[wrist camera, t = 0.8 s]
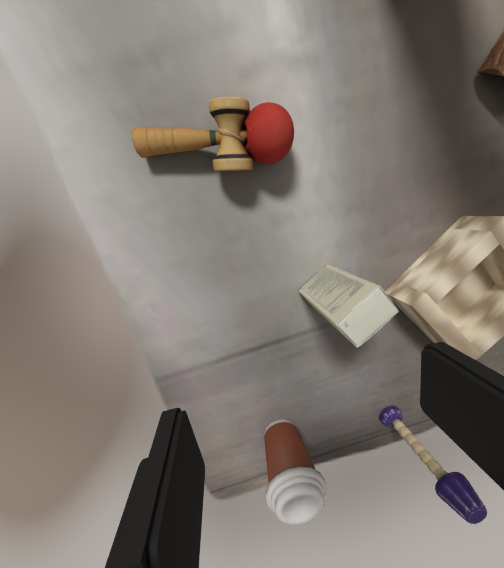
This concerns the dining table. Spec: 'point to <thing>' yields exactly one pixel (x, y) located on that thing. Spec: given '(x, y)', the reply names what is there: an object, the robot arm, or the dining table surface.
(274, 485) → the coffee cup
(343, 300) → the skincare box
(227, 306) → the dining table surface
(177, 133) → the kendama
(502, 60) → the bird sculpture
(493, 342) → the holder
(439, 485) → the toy lamp
